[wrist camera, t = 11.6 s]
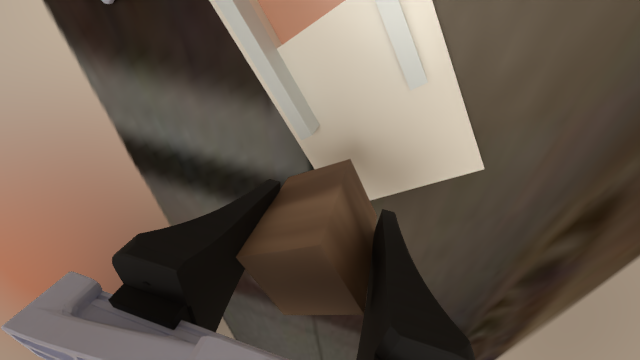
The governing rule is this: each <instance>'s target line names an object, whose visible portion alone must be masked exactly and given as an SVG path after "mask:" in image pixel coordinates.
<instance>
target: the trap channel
mask: <svg viewBox="0 0 640 360" xmlns="http://www.w3.org/2000/svg"><path fill="white" fill-rule="evenodd" d="M209 1H210V2H211V4H212V6H213V7H214V9H215V10H216V12H217V14H218V15H219V17H220V18H221V20H222V22H223V23H224V25H225V26H226V28H227V30H228V31H229V33H230V34H231V36H232V38H233V39H234V41H235V42H236V44H237V46H238V47H239V49H240V50H241V52H242V54H243V55H244V57H245V58H246V60H247V62H248V63H249V65H250V66H251V68H252V70H253V71H254V73H255V74H256V76H257V78H258V79H259V81H260V82H261V84H262V86H263V87H264V89H265V90H266V92H267V94H268V95H269V97H270V98H271V100H272V102H273V103H274V105H275V106H276V108H277V110H278V111H279V113H280V114H281V116H282V118H283V119H284V121H285V122H286V124H287V126H288V127H289V129H290V130H291V132H292V134H293V135H294V137H295V138H296V140H297V142H298V143H299V145H300V146H301V148H302V150H303V151H304V153H305V154H306V156H307V158H308V159H309V161H310V162H311V164H312V166H313V167H314V169H318V168H321V167H325V166H328V165H331V164H335V163H338V162H341V161H345V160H348V159H351V161H352V163H353V165H354V168H355V170H356V172H357V174H358V176H359V178H360V181H361V183H362V185H363V187H364V189H365V191H366V194H367V196H368V198H369V200H374V199H377V198H381V197H385V196H388V195H392V194H396V193H399V192H403V191H406V190H410V189H414V188H417V187H421V186H425V185H428V184H432V183H436V182H439V181H443V180H446V179H450V178H454V177H457V176H461V175H465V174H468V173H472V172H476V171H479V170H483V169H484V166H483V163H482V159H481V156H480V153H479V150H478V147H477V143H476V140H475V137H474V134H473V131H472V127H471V124H470V121H469V118H468V114H467V111H466V108H465V105H464V102H463V98H462V95H461V92H460V89H459V86H458V82H457V79H456V76H455V73H454V69H453V66H452V63H451V60H450V57H449V53H448V50H447V47H446V44H445V41H444V37H443V34H442V31H441V28H440V24H439V21H438V18H437V15H436V12H435V8H434V5H433V2H432V0H209Z"/></svg>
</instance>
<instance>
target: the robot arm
mask: <svg viewBox="0 0 640 360" xmlns="http://www.w3.org/2000/svg"><path fill="white" fill-rule="evenodd" d="M101 1H102V2H103V3H105V4H112V3H113V2H114V0H101ZM279 192H280V182H279V181H275V180H271V179H269V180H268V181H266V182H264V183H263V184H261V185H260V186H258V187H257V188H255V189H253V190H252V191H250V192H249V193H247V194H245V195H244V196H242V197H240V198H239V199H237V200H235V201H233V202H232V203H230V204H228V205H226V206H224V207H222V208H220V209H218V210H216V211H213V212H211V213H209V214H206V215H204V216H201V217H198V218H196V219H193V220H190V221H187V222H184V223H181V224H178V225H174V226H171V227H167V228H164V229H160V230H154V231H150V232H145V233H140V234H138V235H136V236H135V237H134V238H133V239H132V240H131V241H129V242H128V243H127V244H126V245H125V246H124V247H123V248H121V249H120V250H119V251H118V252H117V253H116V254H115V255H114V256H113V257H112V264H113V266H114V268H115V270H116V272H117V273H118V275H119V277H120V278H121V280H122V281H123V283H124V284H123V285H122V286H121V287H120V288H119V289H118V290H117V291H116V293H114V294H110V293H107V292H104V291H102V288H101V286H100V284H99V283H98V282H96V281H95V280H94V279H91V278H89V277H86V276H84V275H81V274H78V273H75V272H68V273H67V274H66V275H65V276H64V277H62V278H61V279H60V280H59V281H57V282H56V283H55V284H54V285H52V286H51V287H50V288H49V289H47V290H46V291H45V292H44V293H42V294H41V295H40V296H39V297H38V298H36V299H35V300H34V301H33V302H31V303H30V304H29V305H28V306H26V307H25V308H24V309H23V310H21V311H20V312H19V313H18V314H16V315H15V316H14V317H13V318H12V319H10V320H9V321H8V322H7V323H5V324H4V325H3V326H2V330H3V331H5V332H6V333H7V334H9V335H10V336H11V337H13V338H14V339H15V340H17V341H18V342H19V343H21V344H22V345H23V346H25V347H26V348H27V349H29V350H30V351H31V352H33V353H34V354H35V355H37V356H39V357H41V358H43V359H46V360H289V359H286V358H284V357H281V356H278V355H275V354H273V353H270V352H267V351H265V350H262V349H259V348H256V347H254V346H251V345H248V344H246V343H243V342H240V341H237V340H235V339H232V338H229V337H226V336H224V335H221V334H218V333H216V330H217V328H218V325H219V323H220V321H221V319H222V316H223V314H224V312H225V309H226V307H227V305H228V303H229V301H230V298H231V296H232V294H233V292H234V290H235V288H236V286H237V284H238V282H239V279H240V277H241V275H242V273H243V272H244V270H245V268H244V267H243V265H242V264H241V263H240V262H239V261H238V259H237V258H236V256H237V254H238V253H239V251H240V250H241V248H242V247H243V245H244V244H245V242H246V241H247V239H248V238H249V236H250V235H251V233H252V232H253V230H254V229H255V227H256V226H257V224H258V223H259V221H260V220H261V218H262V217H263V215H264V214H265V212H266V211H267V209H268V207H269V206H270V205H271V204H272V202H273V201H274V199H275V198H276V196H277V195H278V193H279ZM357 360H475V356H474V353H473V350H472V347H471V344H470V341H469V340H468V338H467V337H466V336H465V335H464V334H463V333H462V332H461V330H460V329H459V328H458V327H457V326H456V325H455V324H454V322H453V321H452V320H451V319H450V318H449V316H448V315H447V314H446V313H445V311H444V310H443V309H442V307H441V306H440V305H439V303H438V302H437V300H436V299H435V298H434V296H433V295H432V293H431V292H430V290H429V289H428V287H427V286H426V284H425V282H424V281H423V279H422V277H421V276H420V274H419V272H418V270H417V268H416V266H415V264H414V262H413V260H412V258H411V256H410V254H409V252H408V249H407V247H406V244H405V242H404V239H403V237H402V234H401V231H400V228H399V225H398V222H397V218H396V214H395V213H394V212H391V211H387V210H384V209H382V212H381V215H380V217H379V220H378V223H377V226H376V228H375V231H374V237H373V245H372V256H371V264H370V272H369V279H368V289H367V300H366V307H365V313H364V319H363V325H362V331H361V337H360V343H359V348H358V354H357Z"/></svg>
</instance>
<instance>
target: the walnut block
mask: <svg viewBox="0 0 640 360" xmlns="http://www.w3.org/2000/svg"><path fill="white" fill-rule="evenodd" d="M376 218H377V215H376V213H375V211H374V209H373V207H372V205H371V202H370V200H369V198H368V196H367V194H366V191H365V189H364V187H363V185H362V183H361V181H360V178H359V176H358V174H357V172H356V170H355V168H354V165H353V163H352V161H351V159H348V160H345V161H341V162H338V163H335V164H331V165H328V166H325V167H321V168H318V169H315V170H311V171H308V172H305V173H301V174H298V175H295V176H291V177H288V179H287V180H286V182H285V183H284V185H283V186H282V188H281V189H280V192H279V193H278V195H277V196H276V198H275V199H274V201H273V202H272V204H271V205H270V206H269V207H268V209H267V211H266V212H265V214H264V215H263V217H262V218H261V220H260V221H259V223H258V224H257V226H256V227H255V229H254V230H253V232H252V233H251V235H250V236H249V238H248V239H247V241H246V242H245V244H244V245H243V247H242V248H241V250H240V251H239V253H238V254H237V256H236V258H237V259H238V261H239V262H240V263H241V264H242V265H243V267H244V268H245V269H246V270H247V271H248V273H249V274H250V275H251V276H252V277H253V279H254V280H255V281H256V282H257V283H258V285H259V286H260V287H261V288H262V289H263V291H264V292H265V293H266V294H267V295H268V296H269V298H270V299H271V300H272V301H273V302H274V304H275V305H276V306H277V307H278V308H279V310H280V311H281V312H282V313H283V314H284V315H364V310H365V302H366V295H367V287H368V279H369V272H370V264H371V256H372V245H373V237H374V231H375V225H376Z"/></svg>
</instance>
